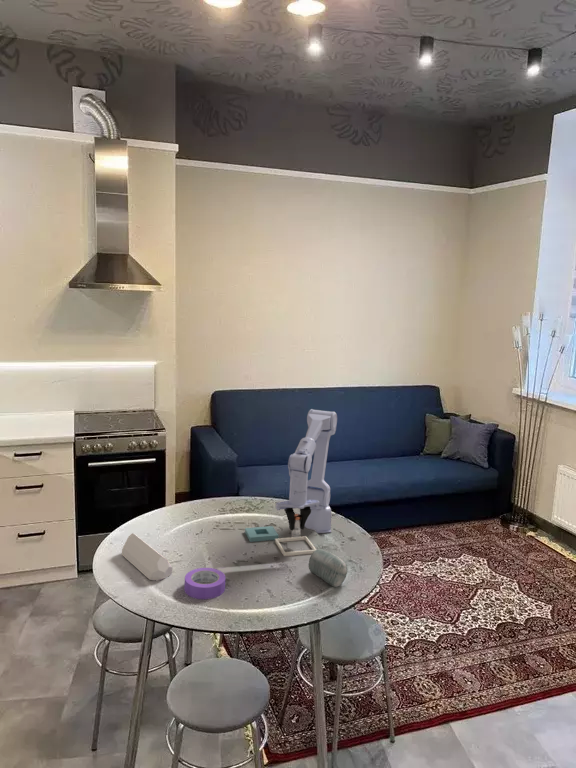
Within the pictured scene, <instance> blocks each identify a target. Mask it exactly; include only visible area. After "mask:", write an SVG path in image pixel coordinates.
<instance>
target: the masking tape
mask: <svg viewBox="0 0 576 768" xmlns="http://www.w3.org/2000/svg"><path fill="white" fill-rule="evenodd" d="M183 586H184V592H185V594H186V595H187V596H188V597H190V598H192V599H197V600H211V599H214V598H218V597H220V596H221V595H222V594H224V592H225V590H226V574H225V573H224V572H223V571H222V570H219V569H217V568H213V567H199V568H194V569H192V570H190V571H188V572H187V573H186V574H185V576H184V585H183Z"/></svg>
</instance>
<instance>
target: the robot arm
mask: <svg viewBox="0 0 576 768" xmlns="http://www.w3.org/2000/svg"><path fill="white" fill-rule="evenodd" d="M306 422H307V423H306V424H307V430H306V434H305V437H302V438H301V439H300V440H299V443H298V445H297V447H296V449H295V451H294V453H292V454H290V455H289V457H288V462H287V467H288V476H289V477H290V478H289V495H288V497H289V498H288V500H284V501H280V502H275V509H276V511H281V510H284V512H285V516H286V517H287V521H288V526H289V530H290V531H292V530H293V526H294V515H295V514H296V513H295V511H294V509H299V514H300V515H301V530H303V531H304V528H306V529H308V530H313V531H315V532H316V534H327V533H332V530H331V529H332V508H331V507H330V505H329V504H330V501H331V487H330V485H329V484H328V483H327V482H326V481H325V476H326V475H325V474H326V466H327V461H328V460H327V459H328V451H329V443H330V439H331V436H333V435H335V434H336V431H337V423H338V415H337V413H336V412H335V411H329V410H320V409H313V408H311V409H309V410H308V412H307V416H306ZM311 465H312V466H311ZM311 467H312V468H311ZM310 470H311V475H310V476H311V477H310V479H308V477H309V471H310Z"/></svg>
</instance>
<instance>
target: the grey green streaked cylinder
mask: <svg viewBox="0 0 576 768" xmlns="http://www.w3.org/2000/svg"><path fill="white" fill-rule="evenodd" d="M316 549H317V550H315V551H314V552H313V553H312V554H310V557H309V560H308V569H309V571H310V573H311V574H313V575H315V576H316V577H318V578H320V579H321V580H323V581H324V582H326V583H327V584H329V585H330V586H332V587H335V588H337V587H339V586H341V585H342V584H343V583H344V581H345V580H346V578H347V574H348V566H347V564H346V562H345V561H344V560H343V559H342V558H341V557H339V556H338V555H336V554H334V553H332V552H330V551H329V550H325V549H322V548H316Z"/></svg>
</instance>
